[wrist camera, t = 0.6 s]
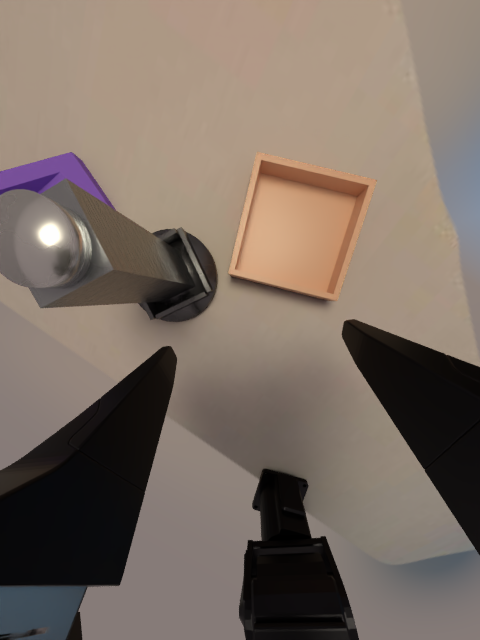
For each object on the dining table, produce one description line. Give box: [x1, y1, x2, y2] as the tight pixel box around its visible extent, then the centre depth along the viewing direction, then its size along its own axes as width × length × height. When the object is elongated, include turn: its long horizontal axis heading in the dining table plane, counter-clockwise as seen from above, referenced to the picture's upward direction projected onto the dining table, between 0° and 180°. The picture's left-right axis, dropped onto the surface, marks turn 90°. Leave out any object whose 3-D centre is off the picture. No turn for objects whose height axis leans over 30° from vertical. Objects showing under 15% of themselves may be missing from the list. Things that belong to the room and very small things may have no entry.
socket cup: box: [138, 227, 217, 322], centre depth 21 cm, size 11×11×2 cm
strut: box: [0, 178, 196, 308], centre depth 14 cm, size 4×4×14 cm
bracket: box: [0, 152, 115, 210], centre depth 19 cm, size 12×7×7 cm, turn 123°
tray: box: [228, 152, 377, 301], centre depth 19 cm, size 12×12×2 cm
